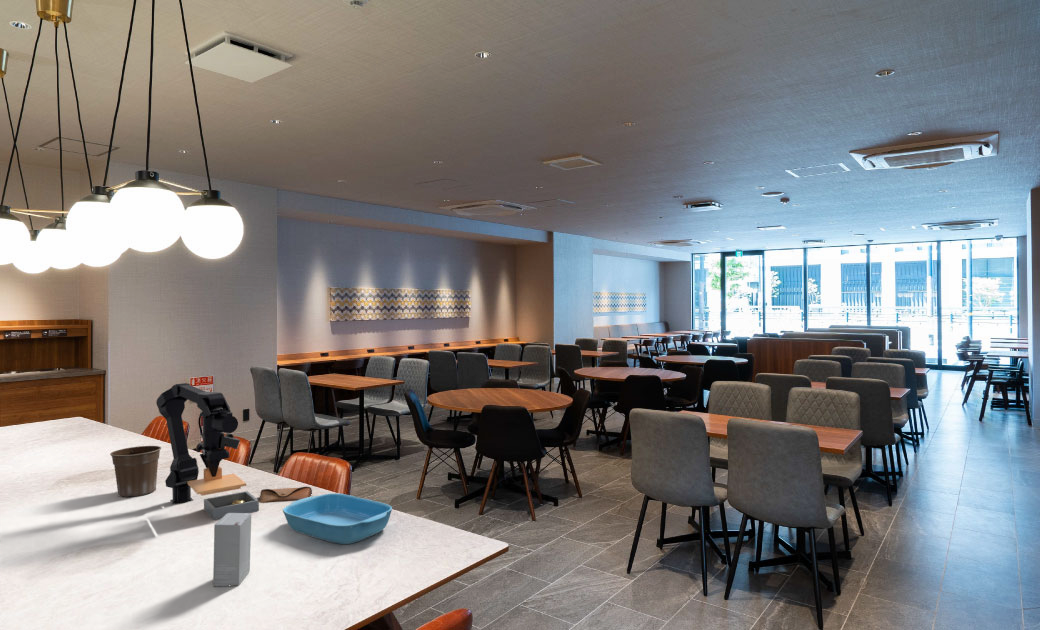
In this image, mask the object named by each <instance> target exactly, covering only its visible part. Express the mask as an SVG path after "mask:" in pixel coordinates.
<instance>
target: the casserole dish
mask: <svg viewBox="0 0 1040 630" xmlns="http://www.w3.org/2000/svg"><path fill="white" fill-rule="evenodd" d="M392 510H393V507H392V505H390V504H388V503H384V502H380V501H376V500H371V499H368V498H365V497H364V498H362V497H359V496H354V495H350V494H344V493H337V492H336V493H335V492H333V493H323V494H320V495H315V496H311V497H307V498H304V499H300V500H297V501H291V503H290V504H289V505H287V506H284V507H283V509H282V512H283V515H284V516H285V520H286V522H287V524H288V526H289V527H290V529H291V530H293V531H295V532H297V533H300V534H302V533H303V535H305V534H306V535H305V536H309V537H312V538H316V539H320V540H322V539H323V541H327V542H330V543H334V544H339V545H350V544H354V543H357V542H360V541H363V540H366V539H367V538H369V537H371V536H372V537H373V536H375V535H376V534H379V533H380V532H382V531H383V530H384V529H385V528H386V527H387V525H388V523H389V521H390V517H391V514H392Z"/></svg>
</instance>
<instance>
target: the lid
mask: <svg viewBox="0 0 1040 630" xmlns="http://www.w3.org/2000/svg"><path fill="white" fill-rule="evenodd" d="M188 485H189V486H190V487H191V489H192V490H193V491H194V492H195V494H196V495H200V496H202V497H203V496H208V495H212V494H213V495H214V494H217V493H224V492H229V491H235V490H241V489H242V488H241V487H247V482H245V481H244V480H243V479H241V478H240V477H239V476H238V475H236V474H235V473H231V474H223V468H222V467H221V466H220V465H219V467H218V470H217V474H216V477H212V475H211V473H210V471H209V468H206V467H205V468H203V478H199V479H197V480H193V481H188Z"/></svg>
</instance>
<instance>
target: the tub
mask: <svg viewBox="0 0 1040 630" xmlns="http://www.w3.org/2000/svg"><path fill="white" fill-rule="evenodd" d="M239 499H243V500H245V503H240V504H235V505H232V501H234V500H239ZM259 505H260V502H259V499H258V498H257V497H256V496H254V495H253V494H252V493H251V492H249V491H247V490H246V491H240V492H236V493H230V494H224V495H219V496H213V497H208V498H204V499H203V510H204V511H205V512H206V514H208V516H209V517H210V518H211V519H212V520H214V521H216V520H220V519H221V518H222V517H224V516H225V515H226V514H227V513H254V512H259V511H260V506H259Z"/></svg>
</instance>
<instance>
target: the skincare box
mask: <svg viewBox="0 0 1040 630" xmlns="http://www.w3.org/2000/svg"><path fill="white" fill-rule="evenodd" d="M213 526H214V527H213V529H214V530H213V532H214V534H213V536H214V537H213V539H214V540H213V572H212V573H213V577H212V586H213V587H214V586H216V587H230V586H229V585H239V586H240V585H241V584H242V582H243V581H244V579H246V577H247V576H248V575H249V573H250V571H251V541H252V539H251V538H252V512H250V513H227V514H226V515H225V516H224V517H222V518H221V519H218V521H217V522H215V524H214V525H213Z"/></svg>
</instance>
